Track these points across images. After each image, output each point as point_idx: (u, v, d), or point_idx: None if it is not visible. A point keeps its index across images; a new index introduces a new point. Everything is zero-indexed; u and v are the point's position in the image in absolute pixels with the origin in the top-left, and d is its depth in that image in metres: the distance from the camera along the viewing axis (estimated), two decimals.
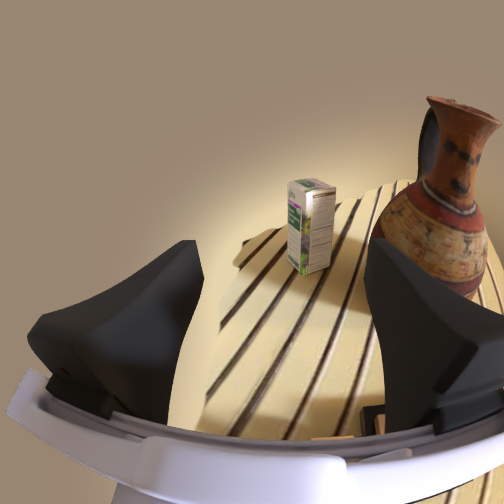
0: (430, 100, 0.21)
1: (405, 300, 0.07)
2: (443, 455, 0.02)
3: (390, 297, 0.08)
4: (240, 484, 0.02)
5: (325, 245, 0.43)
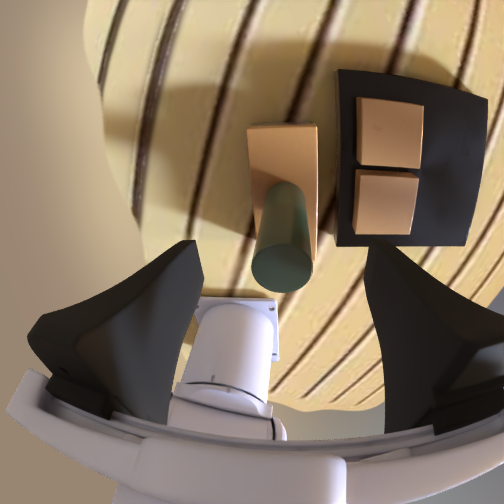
0: None
1: (405, 300, 0.07)
2: (443, 455, 0.02)
3: (390, 297, 0.08)
4: (240, 484, 0.02)
5: None
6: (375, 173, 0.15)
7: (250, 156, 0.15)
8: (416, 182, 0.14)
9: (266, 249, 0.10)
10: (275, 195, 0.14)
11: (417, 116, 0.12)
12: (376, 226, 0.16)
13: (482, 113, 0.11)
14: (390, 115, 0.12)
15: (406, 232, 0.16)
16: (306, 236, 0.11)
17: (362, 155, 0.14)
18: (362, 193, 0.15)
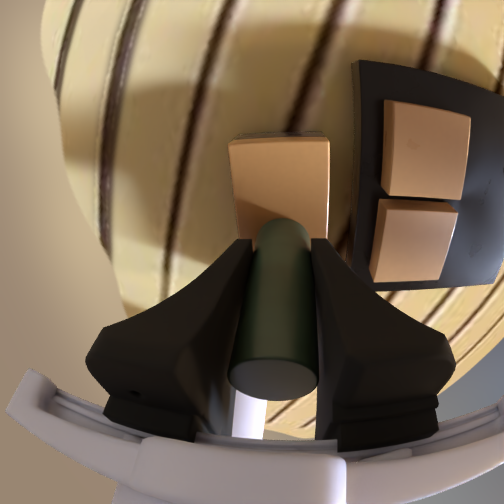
0: None
1: (325, 303, 0.07)
2: (443, 455, 0.02)
3: (320, 299, 0.08)
4: (240, 484, 0.02)
5: None
6: (404, 205, 0.11)
7: (234, 183, 0.11)
8: (454, 217, 0.10)
9: (248, 362, 0.06)
10: (268, 244, 0.10)
11: (462, 131, 0.08)
12: (401, 272, 0.12)
13: None
14: (430, 128, 0.08)
15: (435, 277, 0.12)
16: (312, 326, 0.07)
17: (391, 183, 0.10)
18: (387, 233, 0.11)
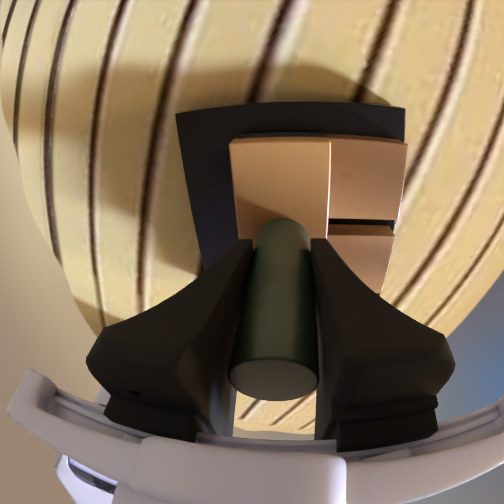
0: None
1: (324, 303, 0.07)
2: (443, 455, 0.02)
3: (319, 299, 0.08)
4: (240, 484, 0.02)
5: None
6: (342, 230, 0.14)
7: (235, 182, 0.11)
8: (391, 240, 0.13)
9: (248, 362, 0.06)
10: (268, 243, 0.10)
11: (398, 158, 0.11)
12: None
13: (394, 130, 0.11)
14: (363, 159, 0.11)
15: (377, 291, 0.15)
16: (312, 327, 0.07)
17: None
18: None
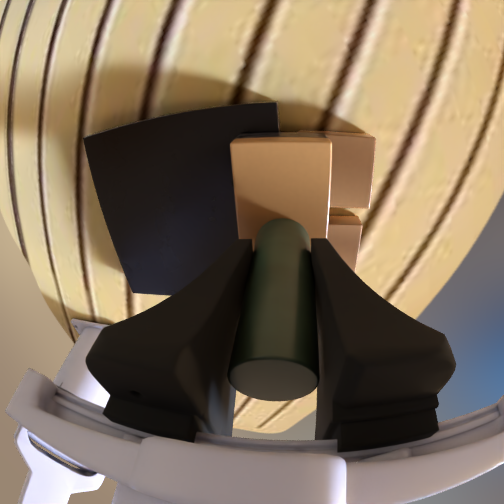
0: None
1: (325, 303, 0.07)
2: (443, 455, 0.02)
3: (320, 299, 0.08)
4: (240, 484, 0.02)
5: None
6: None
7: (236, 182, 0.11)
8: (359, 229, 0.15)
9: (248, 362, 0.06)
10: (269, 243, 0.10)
11: (366, 151, 0.12)
12: None
13: (266, 126, 0.12)
14: (333, 152, 0.13)
15: None
16: (312, 327, 0.07)
17: None
18: None
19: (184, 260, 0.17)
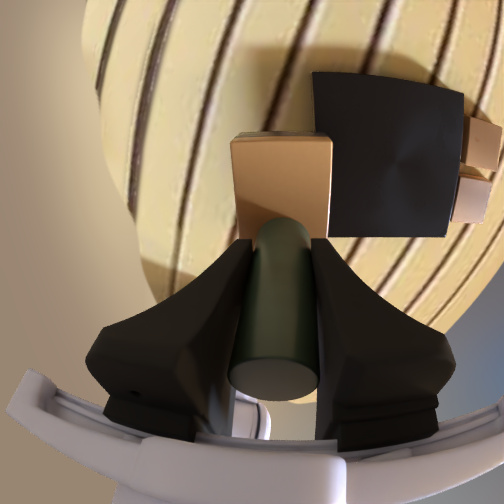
0: None
1: (325, 303, 0.07)
2: (443, 455, 0.02)
3: (320, 299, 0.08)
4: (240, 484, 0.02)
5: None
6: (467, 176, 0.16)
7: (236, 181, 0.11)
8: (490, 185, 0.15)
9: (249, 361, 0.06)
10: (269, 242, 0.10)
11: (498, 134, 0.13)
12: (464, 216, 0.17)
13: (458, 107, 0.13)
14: (484, 132, 0.13)
15: (480, 222, 0.17)
16: (313, 326, 0.07)
17: (467, 158, 0.15)
18: (460, 190, 0.16)
19: (386, 200, 0.18)
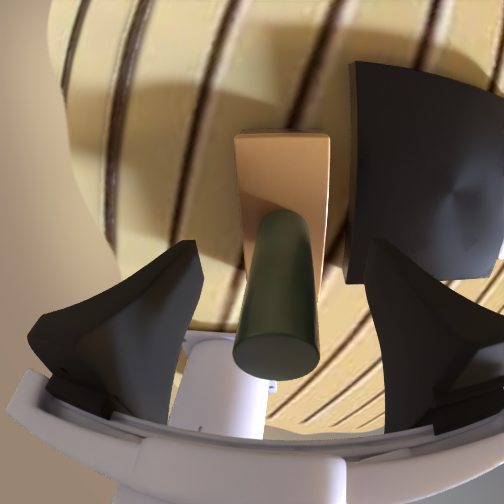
0: None
1: (405, 300, 0.07)
2: (443, 455, 0.02)
3: (391, 297, 0.08)
4: (240, 484, 0.02)
5: None
6: None
7: (239, 175, 0.11)
8: None
9: (253, 338, 0.07)
10: (271, 232, 0.11)
11: None
12: None
13: None
14: None
15: None
16: (312, 307, 0.08)
17: None
18: None
19: (435, 239, 0.13)
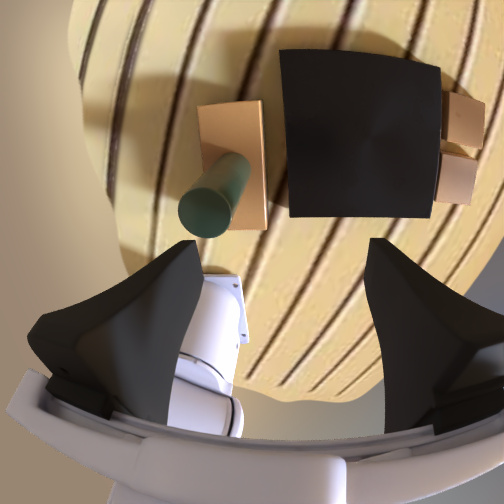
0: None
1: (405, 300, 0.07)
2: (443, 455, 0.02)
3: (390, 297, 0.08)
4: (240, 484, 0.02)
5: None
6: (450, 154, 0.16)
7: (200, 130, 0.16)
8: (476, 163, 0.15)
9: (188, 193, 0.11)
10: (217, 161, 0.15)
11: (481, 110, 0.13)
12: (450, 196, 0.17)
13: (434, 81, 0.13)
14: (466, 107, 0.13)
15: (468, 203, 0.17)
16: (231, 187, 0.12)
17: (448, 134, 0.15)
18: (443, 168, 0.16)
19: (362, 177, 0.17)
